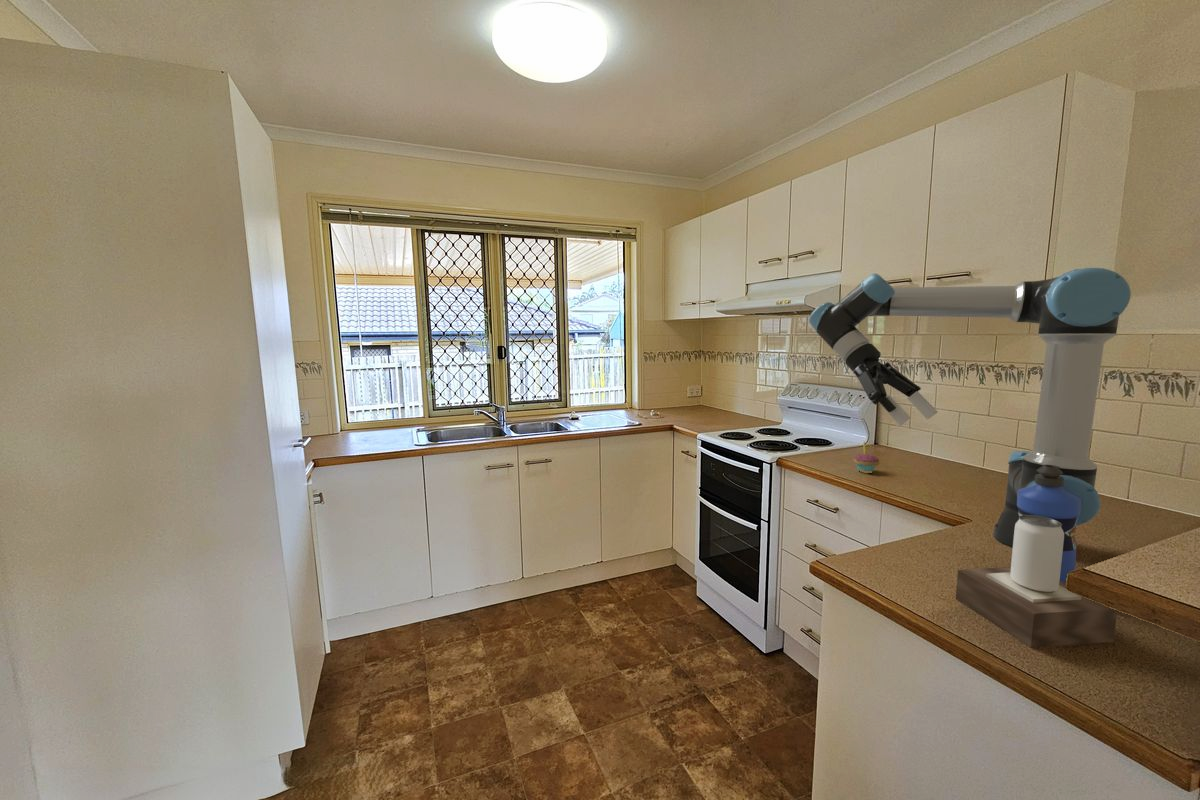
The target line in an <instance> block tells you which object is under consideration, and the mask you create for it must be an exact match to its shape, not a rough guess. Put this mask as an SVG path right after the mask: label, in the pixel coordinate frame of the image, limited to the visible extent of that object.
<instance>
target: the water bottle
mask: <svg viewBox="0 0 1200 800" xmlns="http://www.w3.org/2000/svg"><path fill="white" fill-rule="evenodd" d="M1037 471H1038V472H1039V473H1040V474H1036V475H1035V483H1036V484H1035V485H1034V486H1031V487H1026V488H1021V489H1019V490H1018V492H1017V507H1018V512H1019V516H1021V515H1036V516H1042V517H1047V518H1050V519H1054V520H1056V521H1058V522H1060V523H1061V524H1062V526H1061V528H1062V530H1063V532H1064V543H1063V553H1062V562H1061V571H1060V580H1059V581H1061V582H1064V583H1066V578H1067V574H1068V573H1069V572H1070V571H1073V570H1075V571H1076V567H1077V566H1076V564H1077V548H1078V547H1076V542H1077V541H1076V542H1075V540H1076V535H1075V532H1076V529H1077V528H1076V527H1077V526H1078V525H1077V521H1078V516H1080V508H1081V498H1080V497H1079V496H1077V495H1075V494H1072V493H1070V492H1068V491H1066V490H1064V489H1063V488H1062V486H1064V478H1063V477H1061V476H1060V475H1061V474H1063V472H1062V471H1061V470H1060V469H1058V468H1057V467H1056V466H1054V465H1044V466H1042V467H1040V468H1039V469H1037ZM1076 525H1077V526H1076Z"/></svg>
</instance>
